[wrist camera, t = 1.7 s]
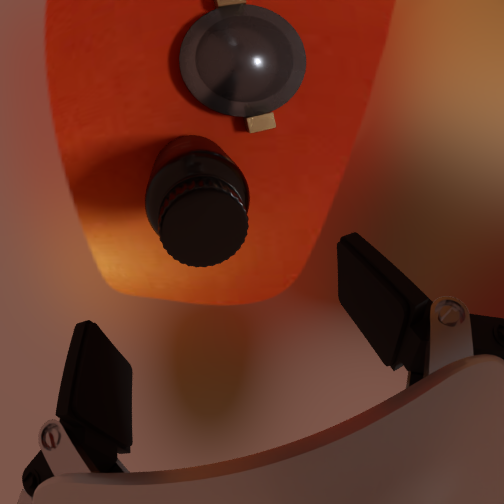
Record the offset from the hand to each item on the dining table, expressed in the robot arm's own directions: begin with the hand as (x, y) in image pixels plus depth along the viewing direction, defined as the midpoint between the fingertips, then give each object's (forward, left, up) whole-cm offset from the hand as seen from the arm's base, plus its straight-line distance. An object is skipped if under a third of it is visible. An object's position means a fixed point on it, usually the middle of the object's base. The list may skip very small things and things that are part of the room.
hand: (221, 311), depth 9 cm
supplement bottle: (-1, 0, -18) cm, 18 cm away
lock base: (-10, +7, -18) cm, 21 cm away
